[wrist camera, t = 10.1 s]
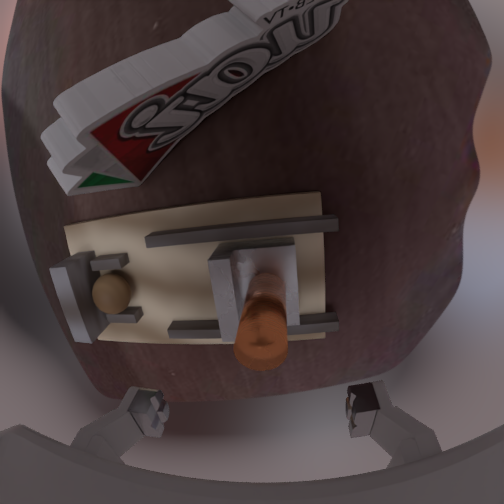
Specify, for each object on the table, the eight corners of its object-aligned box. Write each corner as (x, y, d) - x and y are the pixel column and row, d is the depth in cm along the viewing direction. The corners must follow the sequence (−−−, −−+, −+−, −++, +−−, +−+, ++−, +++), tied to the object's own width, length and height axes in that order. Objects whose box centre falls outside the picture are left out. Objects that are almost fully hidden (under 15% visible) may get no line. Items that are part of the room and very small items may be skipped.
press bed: (70, 224, 27) (33, 239, 21) (330, 190, 24) (346, 199, 18) (102, 334, 31) (77, 363, 25) (333, 330, 28) (343, 368, 22)
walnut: (101, 268, 27) (79, 283, 23) (132, 266, 26) (112, 282, 23) (111, 303, 28) (92, 321, 24) (141, 302, 27) (124, 322, 24)
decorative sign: (308, 24, 21) (345, -75, 6) (326, 42, 21) (380, -51, 7) (122, 167, 25) (8, 166, 10) (138, 187, 25) (29, 202, 11)
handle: (219, 243, 25) (181, 298, 15) (293, 237, 24) (304, 290, 14) (230, 315, 27) (206, 393, 17) (298, 311, 26) (306, 391, 16)
